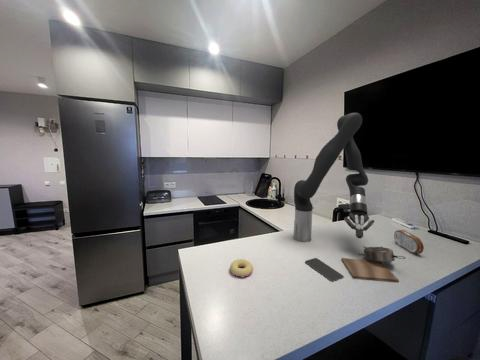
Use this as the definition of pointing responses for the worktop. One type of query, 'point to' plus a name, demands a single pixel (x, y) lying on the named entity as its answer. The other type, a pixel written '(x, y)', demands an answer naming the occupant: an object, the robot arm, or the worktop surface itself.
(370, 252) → the alarm clock
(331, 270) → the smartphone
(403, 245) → the tin
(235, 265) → the donut
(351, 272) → the walnut board
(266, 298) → the worktop surface
